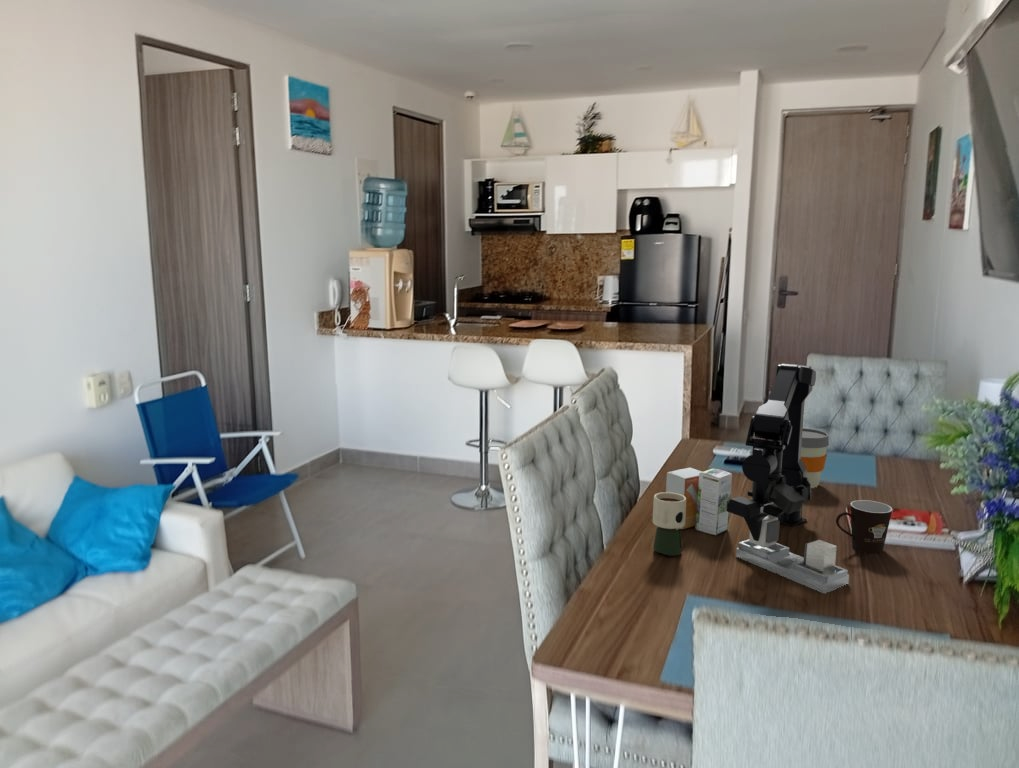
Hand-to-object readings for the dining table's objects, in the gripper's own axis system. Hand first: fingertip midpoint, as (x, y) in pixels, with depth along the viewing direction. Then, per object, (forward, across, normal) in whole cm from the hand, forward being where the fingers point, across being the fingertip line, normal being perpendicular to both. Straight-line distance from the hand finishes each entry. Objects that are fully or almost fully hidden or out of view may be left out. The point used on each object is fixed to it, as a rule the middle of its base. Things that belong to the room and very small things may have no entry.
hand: (762, 538), depth 170 cm
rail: (+5, 0, -7) cm, 9 cm away
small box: (+5, +2, +25) cm, 25 cm away
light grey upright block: (+1, 0, 0) cm, 1 cm away
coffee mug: (+5, +24, -8) cm, 26 cm away
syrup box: (+5, +4, +18) cm, 19 cm away
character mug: (+5, -15, +14) cm, 21 cm away
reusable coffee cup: (+5, +54, +29) cm, 61 cm away
